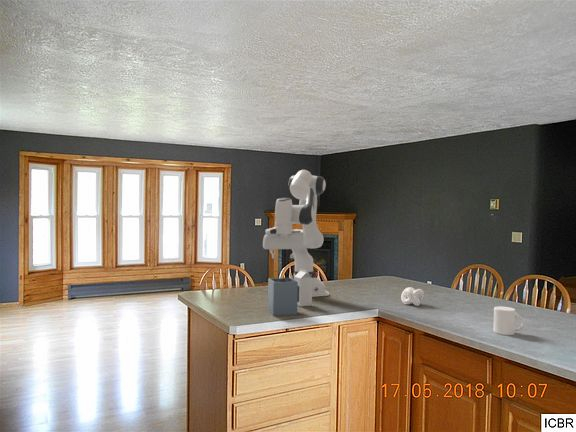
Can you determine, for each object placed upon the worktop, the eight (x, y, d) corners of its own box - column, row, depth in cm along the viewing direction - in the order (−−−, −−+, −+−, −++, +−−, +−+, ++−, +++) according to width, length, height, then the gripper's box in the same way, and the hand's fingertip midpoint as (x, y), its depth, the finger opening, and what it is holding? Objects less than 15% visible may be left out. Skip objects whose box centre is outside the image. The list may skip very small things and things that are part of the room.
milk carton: (300, 306, 233) (300, 270, 233) (293, 304, 240) (294, 269, 239) (311, 305, 237) (312, 270, 236) (305, 303, 243) (305, 268, 243)
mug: (491, 305, 194) (521, 307, 191) (491, 329, 194) (521, 331, 191) (496, 309, 186) (527, 311, 183) (495, 334, 186) (527, 336, 183)
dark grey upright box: (295, 308, 229) (295, 277, 228) (301, 314, 217) (302, 281, 217) (267, 310, 225) (268, 278, 225) (273, 315, 213) (273, 282, 213)
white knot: (416, 301, 251) (416, 286, 250) (429, 306, 239) (429, 289, 239) (398, 303, 247) (398, 286, 247) (410, 307, 236) (411, 290, 236)
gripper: (301, 230, 226) (301, 257, 226) (262, 229, 220) (261, 257, 221) (305, 230, 220) (304, 258, 220) (264, 230, 214) (264, 259, 214)
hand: (282, 258), depth 220 cm, fingers open, 8 cm apart
